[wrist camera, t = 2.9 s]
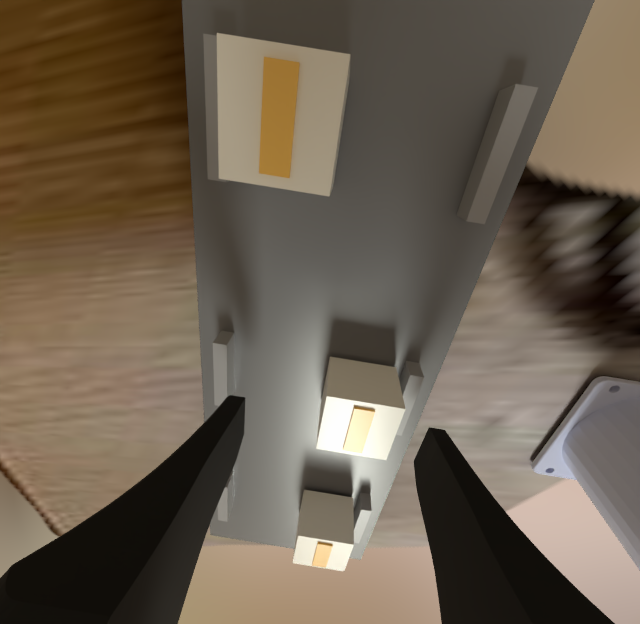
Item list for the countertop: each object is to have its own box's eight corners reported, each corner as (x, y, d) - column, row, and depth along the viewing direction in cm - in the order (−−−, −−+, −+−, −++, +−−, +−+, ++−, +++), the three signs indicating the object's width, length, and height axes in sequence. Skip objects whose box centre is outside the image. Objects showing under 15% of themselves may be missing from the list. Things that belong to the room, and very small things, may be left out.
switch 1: (349, 77, 9) (350, 53, 7) (333, 186, 10) (329, 197, 8) (248, 61, 9) (214, 31, 7) (245, 172, 10) (217, 178, 8)
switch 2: (353, 497, 18) (354, 547, 16) (344, 524, 20) (344, 573, 18) (304, 489, 18) (298, 537, 16) (298, 517, 20) (292, 564, 18)
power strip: (563, -47, 10) (688, -161, 6) (359, 515, 25) (361, 576, 21) (219, -103, 10) (145, -247, 6) (225, 494, 25) (204, 550, 21)
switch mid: (396, 367, 14) (405, 410, 11) (380, 415, 15) (386, 462, 13) (330, 356, 14) (326, 397, 11) (320, 405, 15) (315, 450, 13)
